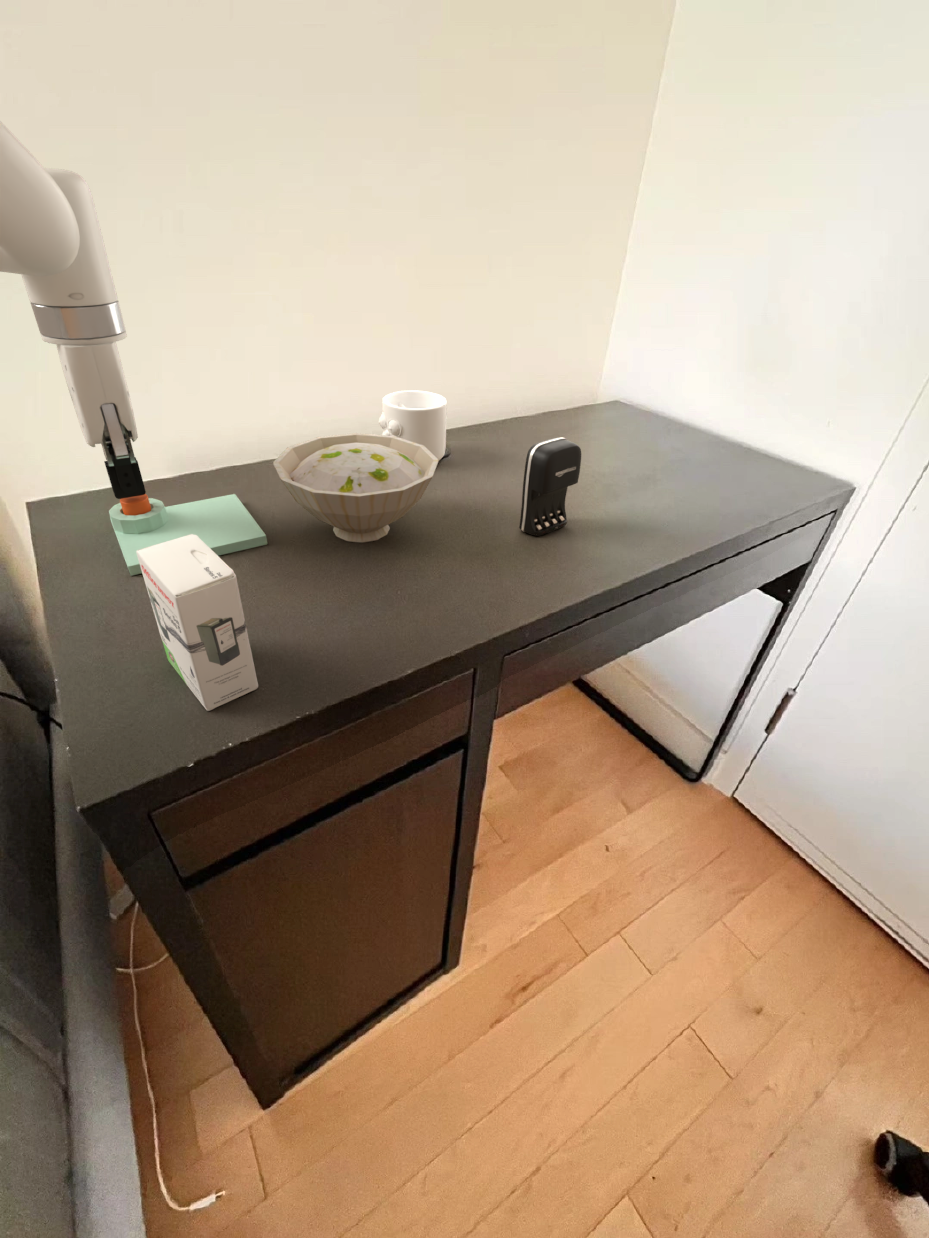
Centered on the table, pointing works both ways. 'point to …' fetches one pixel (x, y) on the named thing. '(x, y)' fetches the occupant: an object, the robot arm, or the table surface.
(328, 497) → the bowl
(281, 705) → the table surface
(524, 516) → the battery charger
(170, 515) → the scale
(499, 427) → the table surface
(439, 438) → the mug
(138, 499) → the button
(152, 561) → the ink box
